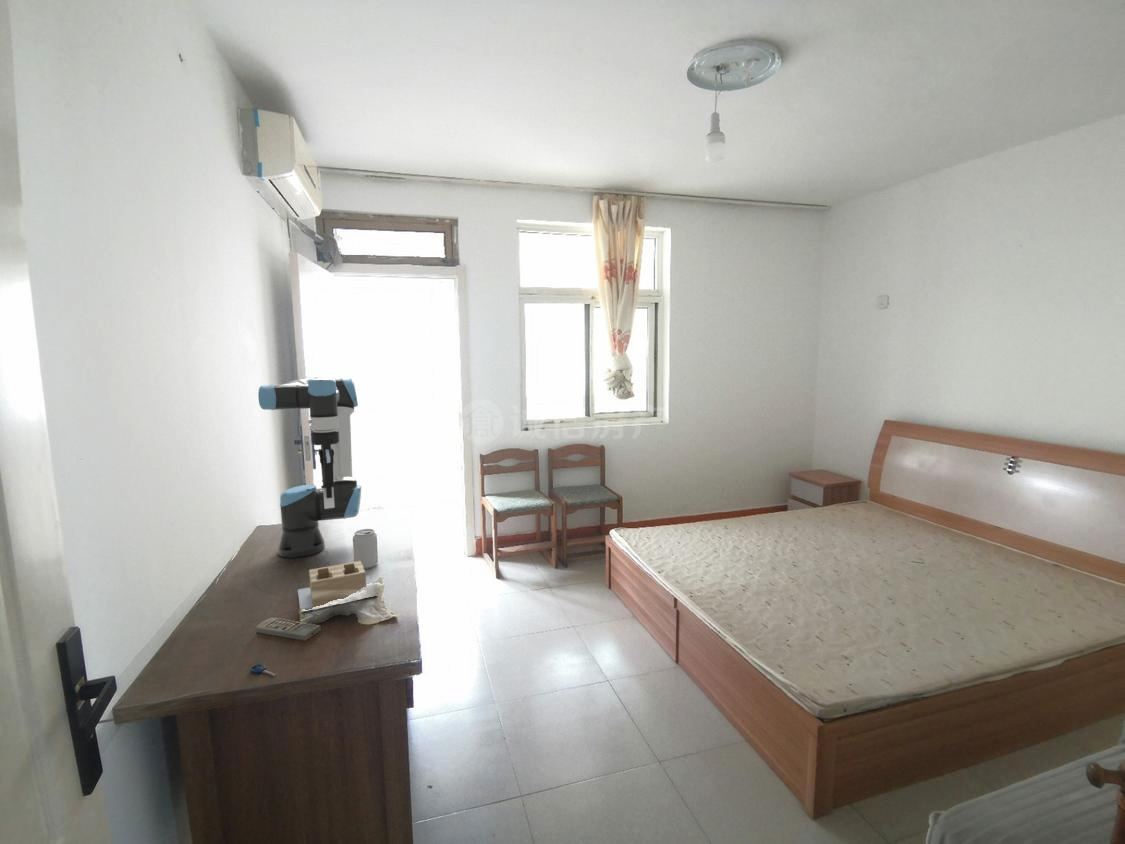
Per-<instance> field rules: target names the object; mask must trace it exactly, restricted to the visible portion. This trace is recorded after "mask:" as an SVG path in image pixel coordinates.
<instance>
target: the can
mask: <svg viewBox="0 0 1125 844" xmlns="http://www.w3.org/2000/svg"><path fill="white" fill-rule="evenodd" d="M352 549H353V551H352V552H353V562H356V561H361V563H362V565H363V568H364V570H368V569H372V568H375V567H376V565H377V564H378V562H379V555H378V554H379V553H378V535H377V533H376V532H375V529H373V528H364V529H363V528H362V529H357V530H356V531H355V532H354V535H353V536H352Z"/></svg>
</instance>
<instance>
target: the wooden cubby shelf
mask: <svg viewBox="0 0 1125 844" xmlns="http://www.w3.org/2000/svg"><path fill="white" fill-rule="evenodd" d="M308 572H309V573H308V574H309V587H310V592H311V599H312V605H313V607H315V606H320V605H324V604H326V603H328V602H330V601H333V600H337V599H344V598H346V597H348V596H349V595H351V594H353V593H356V592H357V591H359V590H360V589H361V588H363V587H366V576H367V574H366V569H364V568H363V565H362V563H361V561H356V562H354V561H351V562H345V563H339V564H335V565H329V566H324V567H323V566H322V567H318V568H312V569H311V568H310V569H309V570H308Z"/></svg>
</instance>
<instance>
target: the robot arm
mask: <svg viewBox="0 0 1125 844" xmlns="http://www.w3.org/2000/svg"><path fill="white" fill-rule="evenodd" d="M356 391H357V390H356V387H355V381H354V379H353V378H352V377H351V376H339V375H338V376H315V377H314V376H309V377H303V378H299V379H294V380H290V381H288V382H286V383H283V384H267V385H266V384H263V385H261V386H259V388H258V392H257V393H258V396H257V397H258V405H259V408H261V409H263V410H264V411H265V410H270V411H274V410H275V411H276V410H277V411H278V410H297V409H299V410H301V409H302V410H303V409H309V417H310V419H309V420H308V421H307V423H308V424H310V430H311V431H312V432H311V433H310V437H311V444H312V445H313V446H320V449H318V450H317V451H318V455H319V463H320V466H321V467H320V468H321V477H322V478H321V479H322V480H321V481H322V485H321V488H317V485H316V484H303V485H302V484H301V485H297V486H294V487H290V488H288V489H285V490H284V491H282V493H281V494H280V502H279V503H280V504H279V507H280V515H281V517H280V518H281V529H282V530H281V536H280V540H279V544H278V546H277V547H278V548H277V553H278V556H280V557H281V558H290V559H291V558H292V559H293V558H303V557H307V556H311V555H315V554H318V553H320V552H321V550H322V551H323V550H324V549H325V548H324V547H326V545H325V539H324V537H323V534H322V532H321V530H320V527H319V522H322V521H330V520H340V519H341V520H346V519H350V518H355V517H357V516H358V514H359V513H360V507H361V497H362V496H361V495H362V486H361V485H360V484H358V481H357V479H355V478H354V477H353V460H352V459H353V458H352V456H353V455H352V436H351V435H352V433H351V430H352V429H351V415H352V414H353V413H354V412H355V408H357V407H358V406H359V404H358V399H357V398H358V396H357V392H356Z"/></svg>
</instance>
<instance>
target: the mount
mask: <svg viewBox="0 0 1125 844" xmlns="http://www.w3.org/2000/svg"><path fill="white" fill-rule="evenodd" d="M370 583H373V581H372V579H371V576H370V575H366V585H367V584H370ZM297 596H298V604H299V605H298V606H299V611H300V612H301V610H302V609H305V610H309V609H312V608H313V605H312V599H311V592H310V586H309V587H308V586H307V587H304V588H299V589H297ZM315 607H316V606H315ZM300 612H299V613H300Z"/></svg>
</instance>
